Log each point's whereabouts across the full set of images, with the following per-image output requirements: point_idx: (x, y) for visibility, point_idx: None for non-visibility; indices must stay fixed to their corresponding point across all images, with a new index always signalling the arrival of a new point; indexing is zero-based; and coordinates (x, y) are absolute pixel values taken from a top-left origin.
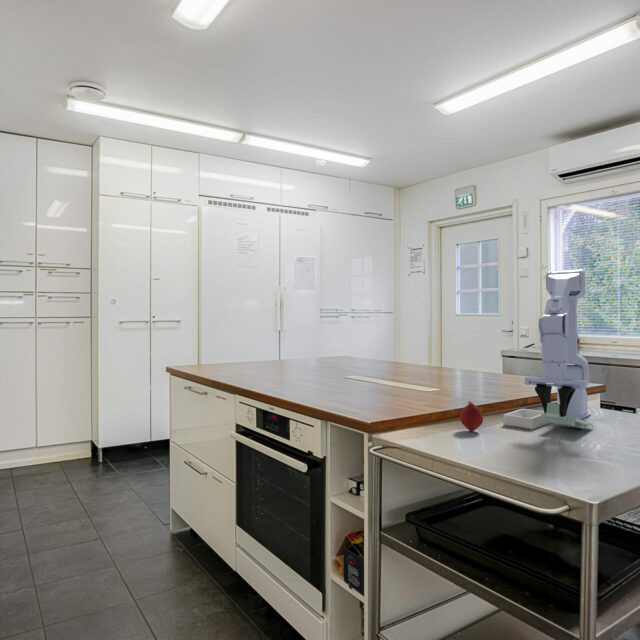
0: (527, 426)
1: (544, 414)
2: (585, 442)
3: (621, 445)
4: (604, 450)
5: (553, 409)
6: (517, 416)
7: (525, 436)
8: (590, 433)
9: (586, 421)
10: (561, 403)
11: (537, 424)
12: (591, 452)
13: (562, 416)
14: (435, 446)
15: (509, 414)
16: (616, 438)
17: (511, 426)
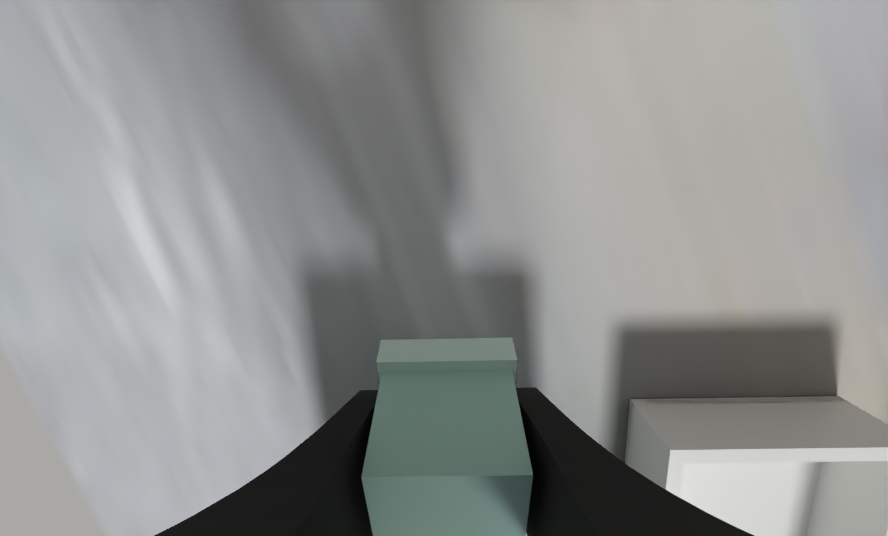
0: (672, 409)
1: None
2: (243, 294)
3: (76, 360)
4: (70, 171)
5: (438, 407)
6: (797, 453)
7: (597, 189)
8: None
9: None
10: (316, 462)
11: None
12: (91, 57)
13: (363, 392)
14: None
15: (881, 512)
16: (175, 498)
17: (779, 397)
